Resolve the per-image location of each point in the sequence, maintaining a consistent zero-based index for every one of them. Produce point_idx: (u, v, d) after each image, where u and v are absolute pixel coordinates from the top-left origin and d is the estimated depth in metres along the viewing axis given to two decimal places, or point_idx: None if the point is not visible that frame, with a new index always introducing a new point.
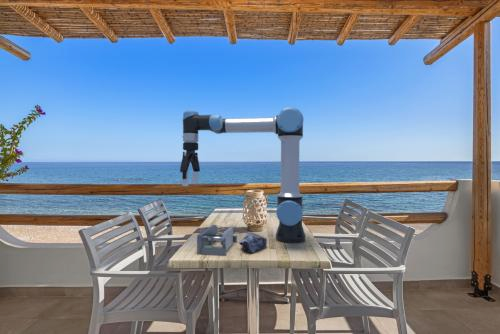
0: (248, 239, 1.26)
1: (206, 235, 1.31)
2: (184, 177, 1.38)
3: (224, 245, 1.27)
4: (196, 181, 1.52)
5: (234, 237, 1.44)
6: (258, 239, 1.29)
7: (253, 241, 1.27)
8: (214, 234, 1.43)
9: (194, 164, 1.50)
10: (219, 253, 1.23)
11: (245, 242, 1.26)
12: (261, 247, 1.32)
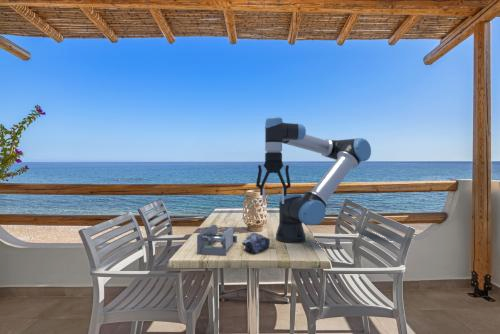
0: (252, 239, 1.26)
1: (206, 235, 1.31)
2: (260, 193, 1.31)
3: (224, 245, 1.27)
4: (282, 200, 1.29)
5: (234, 237, 1.44)
6: (261, 239, 1.28)
7: (256, 242, 1.27)
8: (214, 234, 1.43)
9: None
10: (219, 253, 1.23)
11: (249, 242, 1.26)
12: (264, 247, 1.32)
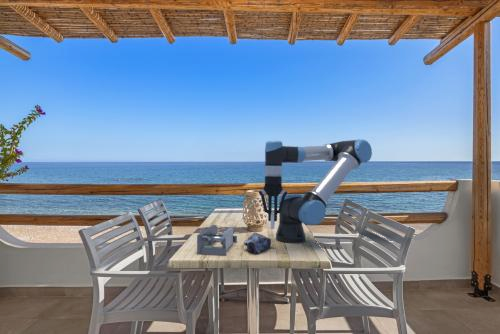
0: (254, 240, 1.25)
1: (206, 235, 1.31)
2: None
3: (224, 245, 1.27)
4: None
5: (234, 237, 1.44)
6: (263, 239, 1.28)
7: (258, 242, 1.26)
8: (214, 234, 1.43)
9: (274, 202, 1.30)
10: (219, 253, 1.23)
11: (251, 243, 1.25)
12: (266, 247, 1.32)
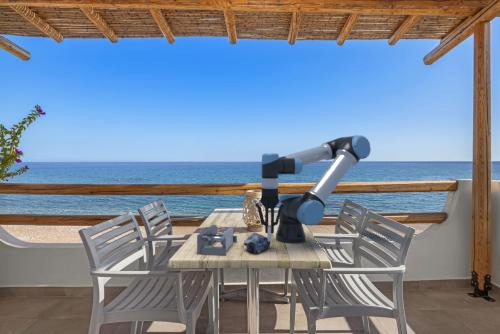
0: (254, 239, 1.25)
1: (206, 235, 1.31)
2: (265, 231, 1.31)
3: (224, 245, 1.27)
4: None
5: (234, 237, 1.44)
6: (263, 239, 1.28)
7: (258, 242, 1.26)
8: (214, 234, 1.43)
9: (271, 214, 1.30)
10: (219, 253, 1.23)
11: (251, 243, 1.25)
12: (265, 247, 1.32)
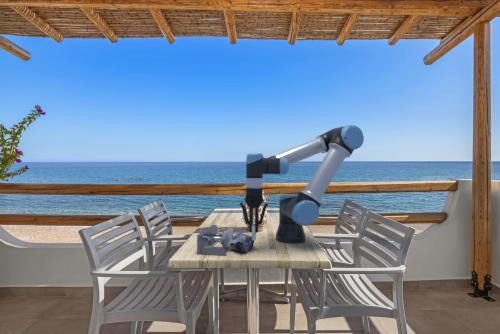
0: (241, 239, 1.26)
1: (206, 235, 1.31)
2: (249, 230, 1.32)
3: (224, 245, 1.27)
4: None
5: None
6: (249, 238, 1.30)
7: (246, 241, 1.27)
8: (214, 234, 1.43)
9: (255, 213, 1.31)
10: (219, 253, 1.23)
11: (239, 242, 1.25)
12: (250, 246, 1.33)
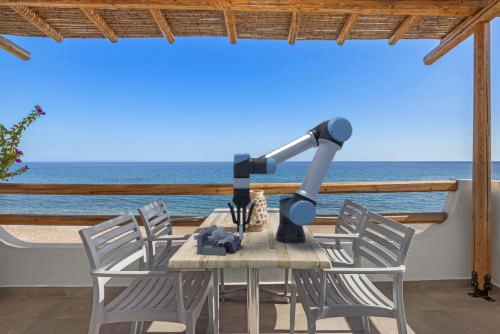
0: (230, 239, 1.26)
1: (206, 235, 1.31)
2: None
3: (213, 244, 1.28)
4: None
5: None
6: (238, 238, 1.31)
7: (234, 241, 1.28)
8: None
9: None
10: (219, 253, 1.23)
11: (227, 242, 1.26)
12: (238, 246, 1.34)
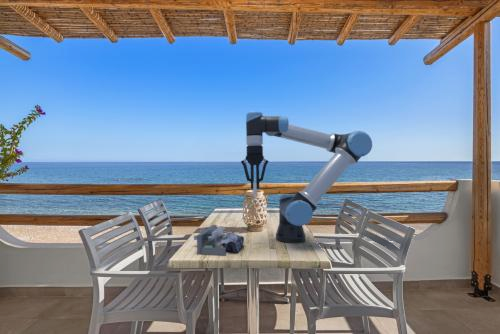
0: (233, 239, 1.26)
1: (206, 235, 1.31)
2: (251, 187, 1.36)
3: (213, 244, 1.28)
4: None
5: None
6: (241, 238, 1.31)
7: (237, 241, 1.28)
8: None
9: (256, 171, 1.35)
10: (219, 253, 1.23)
11: (231, 242, 1.26)
12: (241, 246, 1.34)
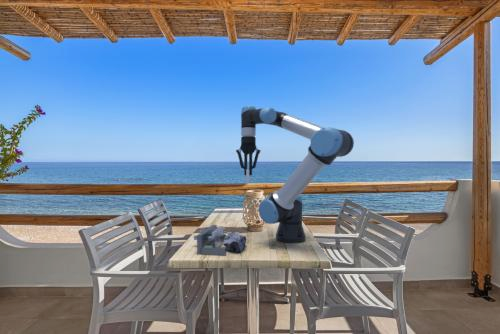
0: (237, 239, 1.27)
1: (206, 235, 1.31)
2: None
3: (213, 244, 1.28)
4: None
5: None
6: (243, 238, 1.31)
7: (240, 241, 1.28)
8: None
9: None
10: (219, 253, 1.23)
11: (234, 242, 1.26)
12: (243, 245, 1.35)
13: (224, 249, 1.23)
